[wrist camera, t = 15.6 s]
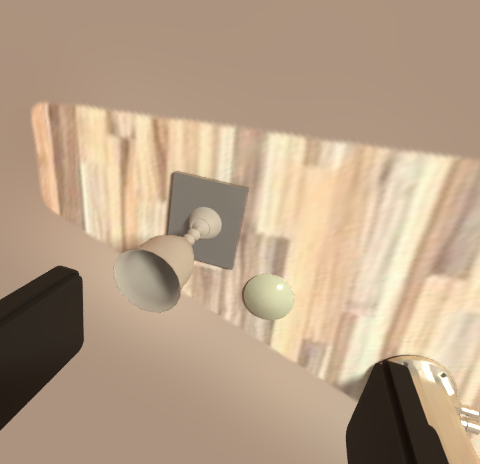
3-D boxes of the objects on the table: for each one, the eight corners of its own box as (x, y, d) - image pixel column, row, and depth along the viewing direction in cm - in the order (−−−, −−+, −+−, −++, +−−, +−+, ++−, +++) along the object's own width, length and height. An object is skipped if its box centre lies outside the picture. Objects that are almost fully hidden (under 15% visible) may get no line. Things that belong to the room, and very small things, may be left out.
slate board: (249, 187, 45) (247, 189, 44) (233, 266, 50) (232, 269, 49) (176, 170, 47) (173, 172, 46) (168, 249, 52) (166, 251, 51)
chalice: (237, 222, 47) (194, 282, 30) (212, 253, 49) (159, 324, 33) (197, 190, 46) (132, 234, 30) (174, 224, 49) (102, 281, 33)
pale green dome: (284, 267, 49) (283, 269, 48) (301, 311, 51) (301, 314, 50) (237, 279, 52) (236, 282, 51) (255, 321, 53) (254, 324, 53)
